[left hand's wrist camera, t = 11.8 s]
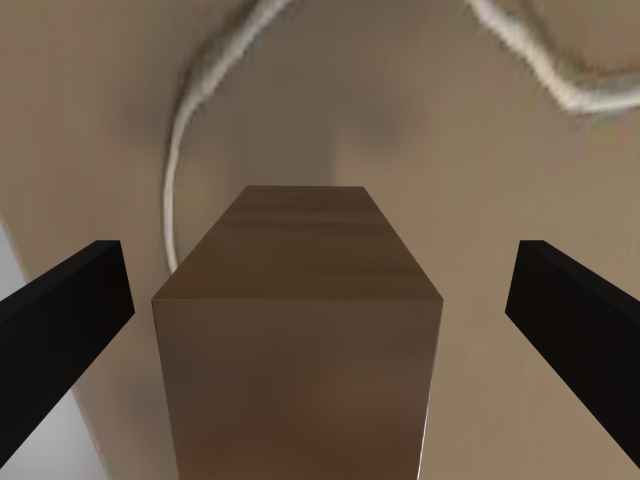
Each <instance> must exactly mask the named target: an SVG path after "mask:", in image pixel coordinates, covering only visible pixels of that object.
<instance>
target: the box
mask: <svg viewBox="0 0 640 480" xmlns="http://www.w3.org/2000/svg"><path fill="white" fill-rule="evenodd" d="M151 302H152V309H153V315H154V321H155V328H156V334H157V341H158V347H159V354H160V360H161V366H162V373H163V379H164V386H165V392H166V399H167V405H168V412H169V418H170V424H171V431H172V437H173V444H174V450H175V457H176V463H177V469H178V476H179V480H418V477H419V470H420V463H421V456H422V448H423V441H424V434H425V427H426V420H427V413H428V406H429V399H430V392H431V385H432V378H433V371H434V364H435V357H436V350H437V343H438V336H439V329H440V322H441V314H442V307H443V298H442V296H441V295H440V294H439V292H438V291H437V289H436V288H435V287H434V285H433V284H432V282H431V281H430V280H429V278H428V277H427V275H426V274H425V273H424V271H423V270H422V268H421V267H420V266H419V264H418V263H417V261H416V260H415V259H414V257H413V256H412V254H411V253H410V251H409V250H408V249H407V247H406V246H405V244H404V243H403V242H402V240H401V239H400V237H399V236H398V235H397V233H396V232H395V230H394V229H393V228H392V226H391V225H390V223H389V222H388V221H387V219H386V218H385V216H384V215H383V214H382V212H381V211H380V209H379V208H378V206H377V205H376V204H375V202H374V201H373V199H372V198H371V197H370V195H369V194H368V192H367V191H366V190H365V188H364V187H349V186H246V188H245V189H244V190H243V191H242V192H241V193H240V195H239V196H238V197H237V198H236V199H235V201H234V202H233V203H232V204H231V205H230V207H229V208H228V209H227V210H226V211H225V212H224V214H223V215H222V216H221V217H220V218H219V220H218V221H217V222H216V223H215V224H214V225H213V227H212V228H211V229H210V230H209V231H208V233H207V234H206V235H205V236H204V237H203V239H202V240H201V241H200V242H199V243H198V244H197V246H196V247H195V248H194V249H193V250H192V252H191V253H190V254H189V255H188V256H187V257H186V259H185V260H184V261H183V262H182V263H181V265H180V266H179V267H178V268H177V269H176V271H175V272H174V273H173V274H172V275H171V276H170V278H169V279H168V280H167V281H166V282H165V284H164V285H163V286H162V287H161V288H160V289H159V291H158V292H157V293H156V294H155V295H154V297H153V298H152V300H151Z"/></svg>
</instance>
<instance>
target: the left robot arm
mask: <svg viewBox="0 0 640 480" xmlns="http://www.w3.org/2000/svg"><path fill="white" fill-rule="evenodd" d="M134 314H135V310H134V305H133V300H132V295H131V291H130V286H129V281H128V276H127V272H126V267H125V262H124V258H123V253H122V248H121V243H120V240H96V241H95V242H93V243H92V244H90V245H88V246H87V247H85V248H84V249H82V250H81V251H79V252H77V253H76V254H74V255H73V256H71V257H69V258H68V259H66V260H65V261H63V262H62V263H60V264H58V265H57V266H55V267H54V268H52V269H51V270H49V271H47V272H46V273H44V274H43V275H41V276H40V277H38V278H36V279H35V280H33V281H32V282H30V283H29V284H27V285H25V286H24V287H22V288H21V289H19V290H18V291H16V292H14V293H13V294H11V295H10V296H8V297H7V298H5V299H3V300H2V301H0V469H1V468H2V467H3V465H4V464H5V463H6V462H7V461H8V460H9V458H10V457H11V456H12V455H13V454H14V453H15V451H16V450H17V449H18V448H19V447H20V446H21V445H22V443H23V442H24V441H25V440H26V439H27V438H28V436H29V435H30V434H31V433H32V432H33V431H34V429H35V428H36V427H37V426H38V425H39V424H40V423H41V421H42V420H43V419H44V418H45V417H46V416H47V414H48V413H49V412H50V411H51V410H52V409H53V407H54V406H55V405H56V404H57V403H58V402H59V400H60V399H61V398H62V397H63V396H64V395H65V394H66V392H67V391H68V390H69V389H70V388H71V387H72V385H73V384H74V383H75V382H76V381H77V380H78V378H79V377H80V376H81V375H82V374H83V373H84V371H85V370H86V369H87V368H88V367H89V366H90V365H91V363H92V362H93V361H94V360H95V359H96V358H97V356H98V355H99V354H100V353H101V352H102V351H103V349H104V348H105V347H106V346H107V345H108V344H109V343H110V341H111V340H112V339H113V338H114V337H115V336H116V334H117V333H118V332H119V331H120V330H121V329H122V327H123V326H124V325H125V324H126V323H127V322H128V320H129V319H130V318H131V317H132V316H133V315H134ZM505 314H506V315H507V316H508V317H509V318H510V319H511V320H512V322H513V323H514V324H515V325H516V326H517V327H518V329H519V330H520V331H521V332H522V333H523V334H524V336H525V337H526V338H527V339H528V340H529V341H530V343H531V344H532V345H533V346H534V347H535V348H536V349H537V351H538V352H539V353H540V354H541V355H542V356H543V358H544V359H545V360H546V361H547V362H548V363H549V365H550V366H551V367H552V368H553V369H554V370H555V371H556V373H557V374H558V375H559V376H560V377H561V378H562V380H563V381H564V382H565V383H566V384H567V385H568V387H569V388H570V389H571V390H572V391H573V392H574V394H575V395H576V396H577V397H578V398H579V399H580V400H581V402H582V403H583V404H584V405H585V406H586V407H587V409H588V410H589V411H590V412H591V413H592V414H593V416H594V417H595V418H596V419H597V420H598V421H599V423H600V424H601V425H602V426H603V427H604V428H605V429H606V431H607V432H608V433H609V434H610V435H611V436H612V438H613V439H614V440H615V441H616V442H617V443H618V445H619V446H620V447H621V448H622V449H623V450H624V452H625V453H626V454H627V455H628V456H629V457H630V458H631V460H632V461H633V462H634V463H635V464H636V465H637V467H638V468H639V469H640V301H638V300H637V299H635V298H634V297H632V296H630V295H629V294H627V293H626V292H624V291H622V290H621V289H619V288H618V287H616V286H615V285H613V284H611V283H610V282H608V281H607V280H605V279H604V278H602V277H600V276H599V275H597V274H596V273H594V272H593V271H591V270H589V269H588V268H586V267H585V266H583V265H582V264H580V263H578V262H577V261H575V260H574V259H572V258H571V257H569V256H567V255H566V254H564V253H563V252H561V251H559V250H558V249H556V248H555V247H553V246H552V245H550V244H548V243H547V242H545V241H544V240H520V243H519V248H518V253H517V258H516V262H515V267H514V272H513V276H512V281H511V286H510V291H509V295H508V300H507V305H506V310H505Z"/></svg>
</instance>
